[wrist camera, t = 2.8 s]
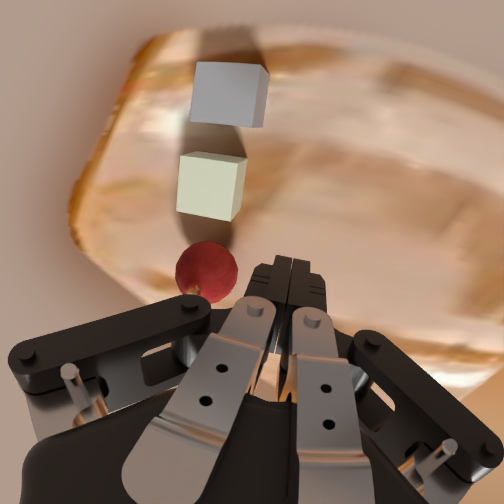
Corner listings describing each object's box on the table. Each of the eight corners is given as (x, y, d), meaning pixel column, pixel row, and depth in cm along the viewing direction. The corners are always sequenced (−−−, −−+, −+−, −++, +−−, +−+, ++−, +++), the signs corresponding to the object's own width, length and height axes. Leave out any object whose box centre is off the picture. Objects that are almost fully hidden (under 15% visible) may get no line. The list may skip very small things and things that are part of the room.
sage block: (197, 150, 27) (180, 155, 23) (247, 158, 26) (237, 163, 23) (192, 199, 29) (176, 211, 26) (240, 208, 29) (230, 221, 25)
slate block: (216, 71, 23) (196, 61, 19) (269, 75, 23) (260, 64, 18) (209, 121, 25) (189, 121, 21) (262, 127, 25) (251, 127, 20)
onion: (215, 288, 33) (190, 333, 26) (181, 249, 32) (146, 286, 24) (256, 262, 30) (238, 307, 23) (220, 219, 29) (190, 252, 22)
